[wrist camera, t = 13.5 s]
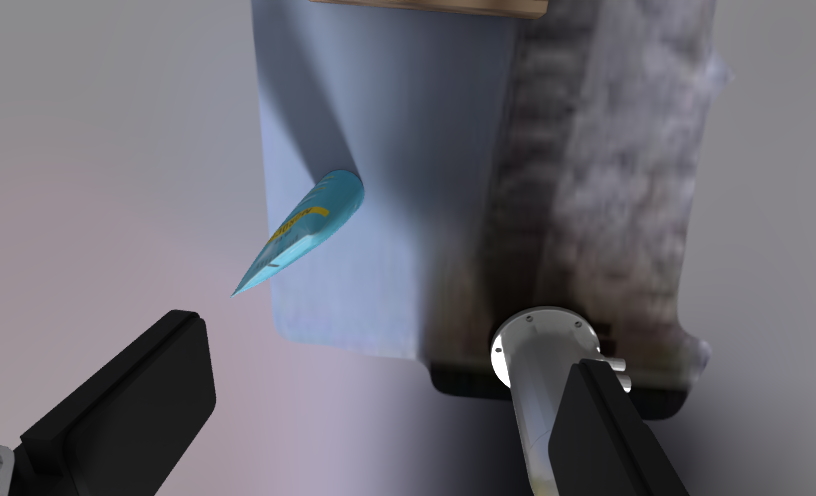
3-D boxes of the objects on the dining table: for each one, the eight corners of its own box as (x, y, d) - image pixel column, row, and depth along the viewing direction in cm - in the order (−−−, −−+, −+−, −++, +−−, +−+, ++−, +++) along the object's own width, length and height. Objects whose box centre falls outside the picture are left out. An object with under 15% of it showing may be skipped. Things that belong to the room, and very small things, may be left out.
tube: (348, 151, 41) (276, 205, 24) (381, 185, 42) (336, 261, 25) (303, 198, 44) (207, 279, 26) (335, 229, 45) (264, 326, 27)
